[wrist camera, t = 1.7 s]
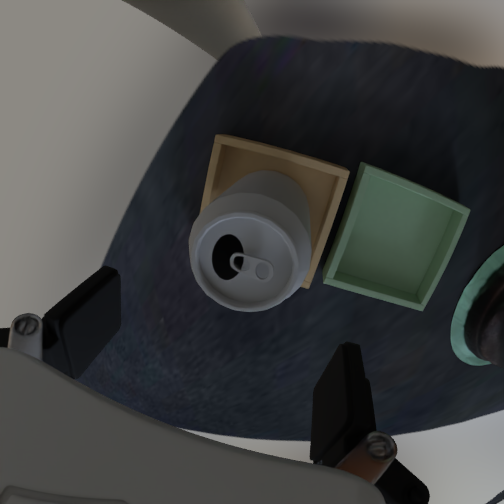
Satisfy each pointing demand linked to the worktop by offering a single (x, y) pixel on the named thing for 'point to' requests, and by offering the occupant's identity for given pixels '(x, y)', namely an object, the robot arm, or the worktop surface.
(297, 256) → the can
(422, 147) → the worktop surface
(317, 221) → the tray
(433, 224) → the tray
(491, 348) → the black and teal hat
